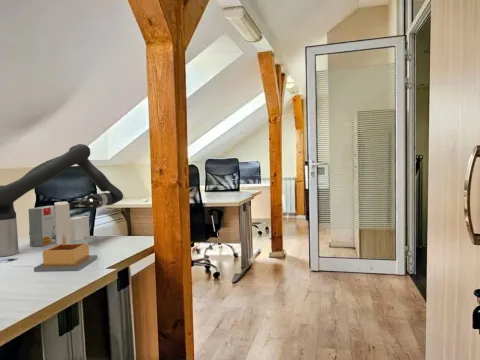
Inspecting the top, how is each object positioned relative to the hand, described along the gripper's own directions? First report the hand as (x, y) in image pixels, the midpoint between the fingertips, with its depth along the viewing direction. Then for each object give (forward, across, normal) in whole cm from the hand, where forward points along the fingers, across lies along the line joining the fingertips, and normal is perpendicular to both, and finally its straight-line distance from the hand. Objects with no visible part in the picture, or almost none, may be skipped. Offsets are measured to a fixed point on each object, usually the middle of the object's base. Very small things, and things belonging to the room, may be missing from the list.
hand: (77, 205), depth 182 cm
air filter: (+12, 0, +22) cm, 25 cm away
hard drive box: (-10, -29, +22) cm, 38 cm away
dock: (+26, +13, +22) cm, 37 cm away
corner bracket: (-25, -20, +23) cm, 39 cm away
